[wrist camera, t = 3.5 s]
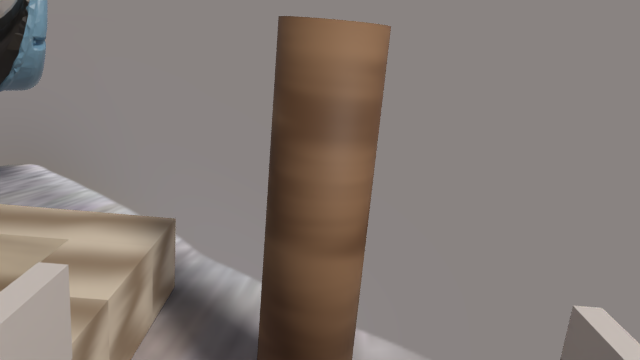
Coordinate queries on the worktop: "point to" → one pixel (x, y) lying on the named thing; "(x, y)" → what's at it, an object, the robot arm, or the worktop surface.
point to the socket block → (96, 270)
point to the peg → (319, 184)
